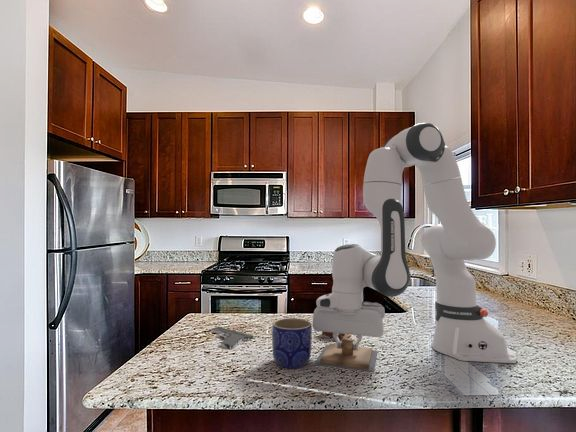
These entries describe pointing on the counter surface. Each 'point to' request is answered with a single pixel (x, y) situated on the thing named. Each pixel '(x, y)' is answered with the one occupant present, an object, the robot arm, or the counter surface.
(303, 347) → the planter
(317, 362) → the mat
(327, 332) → the electronic device
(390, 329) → the counter surface
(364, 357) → the lid
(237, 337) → the handgun
